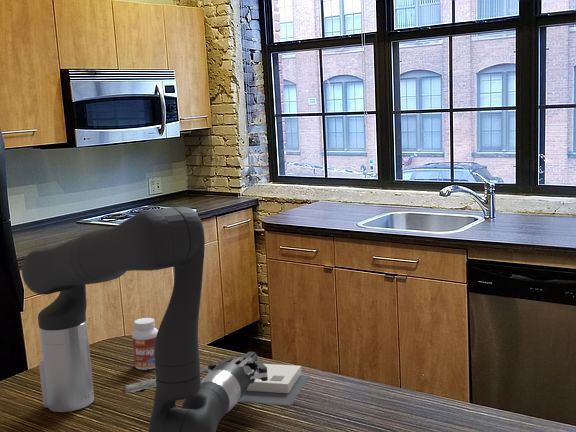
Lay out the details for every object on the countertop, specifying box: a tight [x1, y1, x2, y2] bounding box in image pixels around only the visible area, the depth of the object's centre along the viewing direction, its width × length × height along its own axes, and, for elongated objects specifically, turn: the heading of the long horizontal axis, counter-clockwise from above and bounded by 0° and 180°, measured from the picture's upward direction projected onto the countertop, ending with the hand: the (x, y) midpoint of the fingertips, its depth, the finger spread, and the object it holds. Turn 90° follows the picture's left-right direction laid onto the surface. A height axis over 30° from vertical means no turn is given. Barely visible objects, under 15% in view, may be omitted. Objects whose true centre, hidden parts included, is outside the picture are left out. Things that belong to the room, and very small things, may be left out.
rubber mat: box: [237, 374, 311, 406], centre depth 141 cm, size 20×15×1 cm
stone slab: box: [123, 365, 208, 393], centre depth 149 cm, size 18×2×10 cm
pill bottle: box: [131, 317, 159, 371], centre depth 158 cm, size 6×6×11 cm
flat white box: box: [247, 363, 302, 393], centre depth 144 cm, size 16×2×10 cm
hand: (252, 356), depth 140 cm, fingers closed
